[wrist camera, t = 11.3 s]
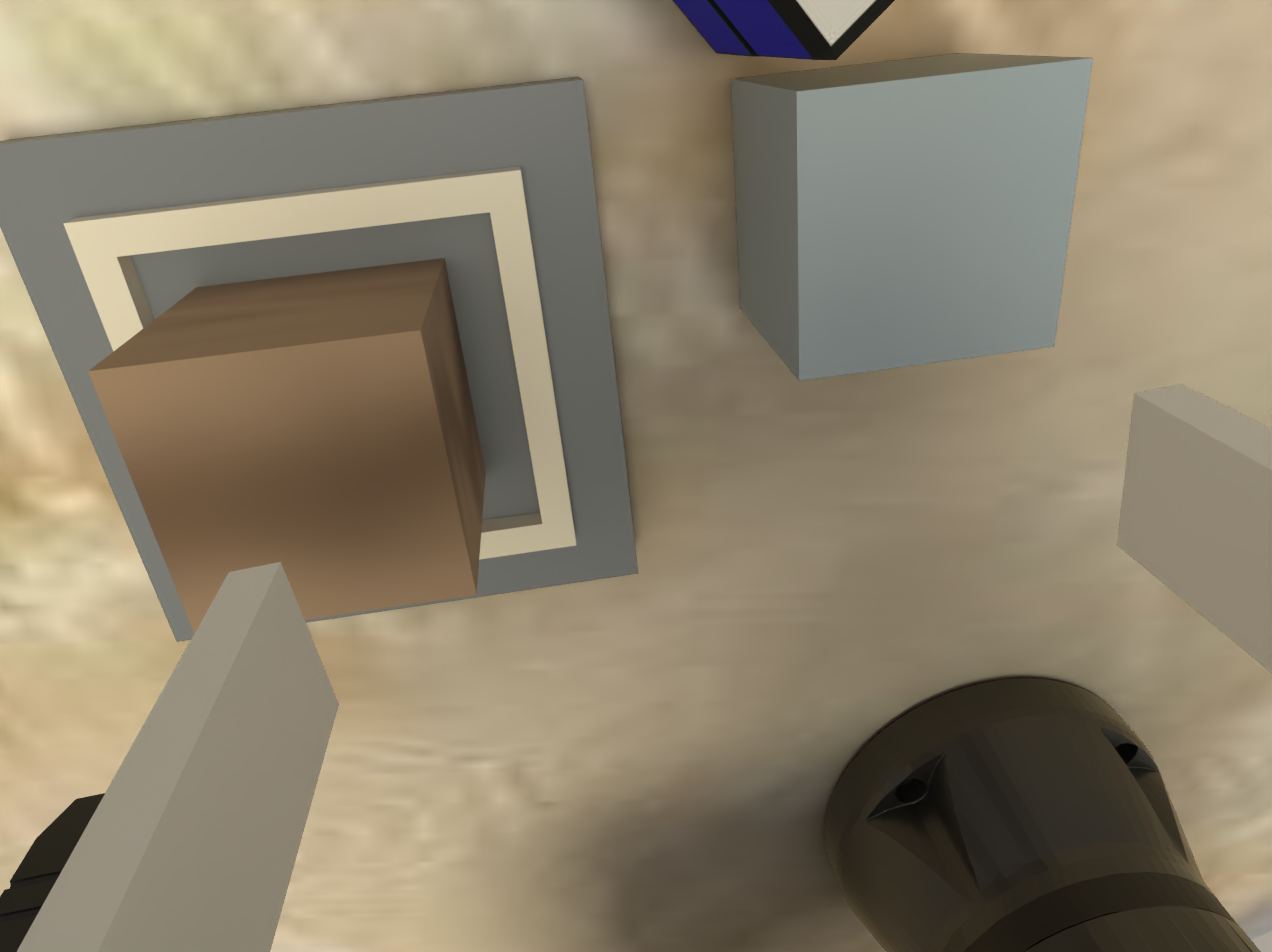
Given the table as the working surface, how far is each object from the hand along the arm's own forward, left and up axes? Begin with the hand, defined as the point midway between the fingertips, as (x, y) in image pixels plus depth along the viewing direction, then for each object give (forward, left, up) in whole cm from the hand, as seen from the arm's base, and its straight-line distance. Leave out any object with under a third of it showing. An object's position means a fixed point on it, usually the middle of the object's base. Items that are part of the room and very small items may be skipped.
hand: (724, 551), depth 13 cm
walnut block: (-2, +9, -14) cm, 17 cm away
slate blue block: (+2, -7, -17) cm, 18 cm away
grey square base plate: (-2, +9, -16) cm, 19 cm away
